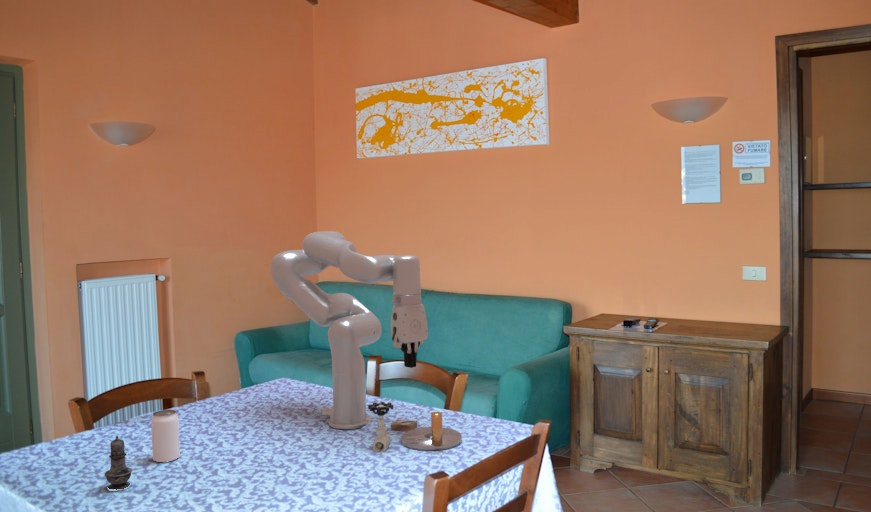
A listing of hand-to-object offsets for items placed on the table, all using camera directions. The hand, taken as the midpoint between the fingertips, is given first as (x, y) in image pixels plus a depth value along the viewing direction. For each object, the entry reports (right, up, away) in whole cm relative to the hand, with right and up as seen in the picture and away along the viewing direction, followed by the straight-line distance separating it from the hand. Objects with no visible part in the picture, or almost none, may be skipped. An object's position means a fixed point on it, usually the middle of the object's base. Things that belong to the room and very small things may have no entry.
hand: (410, 366), depth 197 cm
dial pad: (-2, -19, +5) cm, 20 cm away
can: (-62, -22, -15) cm, 67 cm away
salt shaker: (-65, -23, -33) cm, 77 cm away
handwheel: (+6, -19, -7) cm, 21 cm away
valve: (-7, -20, -11) cm, 24 cm away
